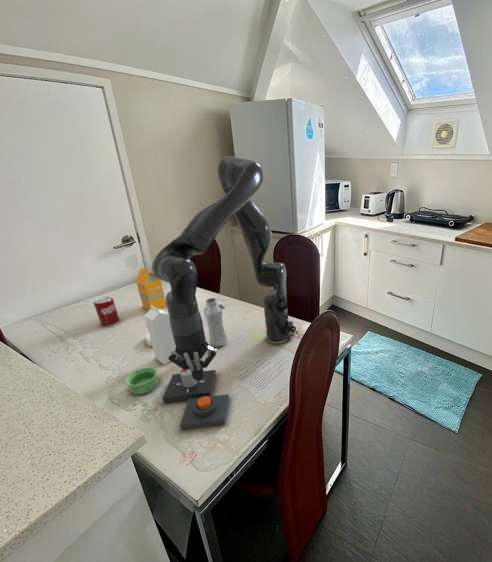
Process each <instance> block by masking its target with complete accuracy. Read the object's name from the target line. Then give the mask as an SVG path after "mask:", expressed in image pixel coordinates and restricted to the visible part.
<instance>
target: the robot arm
mask: <svg viewBox="0 0 492 562" xmlns="http://www.w3.org/2000/svg"><path fill="white" fill-rule="evenodd" d="M217 177H218V181H219V184H220V186H221V189H222V190H223V192H224V195H223V196H222V197H220V198H219V199H218V200H216V201H214V202H213V203H211V204H208V205H207V206H205V207H204V208H202V209H201V210H200V211H198V212H197V213H196V214H195V215H194V216H193V217H192V218H191V220H190V221H189V222H188V224H187V225H186V226H185V227H184V228H183V230H182V231H181V233H180V234H179V235H178V236H177V237H176V238H174V239H172V241H170V242H169V243H168V244H167V245H166V246H164V247H163V248H162V249H161V250H160V251H159V252H158V253H157V254H156V255H155V257H154V259H153V261H152V263H151V264H152V265H151V271H152V274H153V275H154V276H155V277H157V278H158V279H159V280H161V281H162V282H166V283H169V286H170V291H168V292H167V293H166V295H165V301H166V306H167V307H166V309H167V313H168V314H169V319H170V326H171V330H172V334H173V338H174V342H175V345H176V348H175V351H172V352H171V354H170V356H169V358H168V359H169V360H170V362H172V363H173V364H175V365H176V366H177V367H179V368H180V369H181V370H182V369H183V370H187V369H189V370H190V371H191V373H192V377H193V379H195V381H200V380H201V379H202V378H203V376H204V371H205V370H204V369H207V368H208V367H209V365H210V364H211V362H212V361H213V359H215V357H216V355H217V353H218V347H216V346H213V347H212V346H210V344H209V343H208V341H207V339H206V334H205V329H204V321H203V318H202V315H201V312H200V310H199V305H198V300H197V296H196V295H197V294H196V293H197V285H198V283H197V282H198V271H197V268H196V265H195V263H194V262H193V261H192V260H191V258H192V257H194V256H200V255H203V254H204V253H205V252H206V251H207V250H208V249H209V247H210V245H211V244H212V243H213V241H214V240H215V239H216V237H217V236H218V234H219V233H220V231H221V230H222V229H223V228H224V226H225V225H226V224H227V223H229V222H230V220H231V219H232V218H233V217H234V216H235V218H236V219H235V220H236V221H237V223H238V226H239V229H240V233H241V236H242V239H243V241H244V243H245V245H246V249H247V251H248V253H249V256H250V260H251V263H252V267H253V271H254V275H255V280H256V281H257V283H258V285H259V286H261V287H267V288H269V287H271V288H275V289H273V290H269V291H267V292H265V293H264V294H263V296H262V301H263V302H262V303H263V311H264V312H263V313H264V320H265V333H266V341H267V342H268V343H269V344H272V345H281V344H285V343H286V342H290V340H291V338H290V337H291V336H290V335H291V334H290V333H292V334H294V333H295V332H296V330H297V327H296V326H294V321H293V320H291V321H290V320H289V312H288V296H287V293H288V292H287V290H288V289H287V268H286V265H285V264H284V263H283V262H266V261H265V259H264V258H265V256H266V253H267V252H268V251H269V249H270V247H271V245H272V242H273V234H272V230H271V227H270V226H271V225H270V223H269V221H268V219H267V218H266V216H265V215H264V213H263V212H262V211H261V210H260V209H259V207H258V206H257V205H256V203H255V202H254V201H253V200H252V198H253V197H254V196H255V195H256V194H257V193H258V191H260V188H261V187H262V185H263V181H264V170H263V168H262V166H261V165H260V164H259V163H258V162H257V161H254V160H250V159H248V158H242V157H238V156H233V155H232V156H231V155H229V156H228V155H227V156H224V157H223V158H221V159H220V160H219V162H218V165H217ZM206 353H207V356H206V357H205V359H203V357H204V356H205V355H206Z"/></svg>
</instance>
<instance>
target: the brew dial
mask: <svg viewBox="0 0 492 562" xmlns="http://www.w3.org/2000/svg"><path fill="white" fill-rule="evenodd" d="M179 374H181V378H182V382H183V386H184V387H186V388H189V387H193V386H194V385H196V384H197V381H195V379H193V377H192V373H191V371H190V370H189V369H187V370H183V369H182V368H181V369H180V371H179Z"/></svg>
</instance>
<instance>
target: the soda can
mask: <svg viewBox="0 0 492 562" xmlns="http://www.w3.org/2000/svg"><path fill="white" fill-rule="evenodd" d="M93 306H94V308H95V309H94V310H95V312H96V314H97V317H98V320H99V323H100V325H101V326H102V327H105V328H106V327H112V326H115V325H117V324H118V323H119V322H120V316H119V313H118V311H117V307H116V304H115V301H114V298H113V297H112V296H102V297H98V298H97V299H94V301H93Z"/></svg>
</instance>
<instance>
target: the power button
mask: <svg viewBox="0 0 492 562" xmlns="http://www.w3.org/2000/svg"><path fill="white" fill-rule="evenodd" d="M197 403H198V408H199V409H201V410H205V409H207V408H209V407H210V406H211V400H210V397H208V396H204V397H201V398H200V399H199V400H198V402H197Z"/></svg>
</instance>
